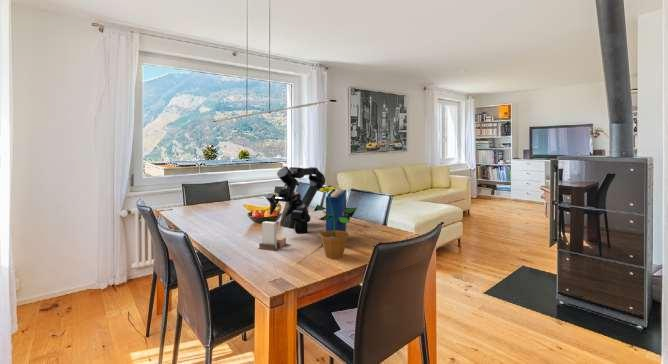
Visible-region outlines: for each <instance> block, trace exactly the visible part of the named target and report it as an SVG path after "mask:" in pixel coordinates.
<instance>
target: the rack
mask: <svg viewBox="0 0 668 364" xmlns="http://www.w3.org/2000/svg"><path fill="white" fill-rule="evenodd" d="M287 245H288V243H286V244H285V245H284V246H282V247H280V242H277V248H276V249H275V245H272V244H264V243H262V242H260V243H259V247H258V248H257V250H262V251H271V252H277V251H278V250H280V249H281V248H283V247H285V246H287Z"/></svg>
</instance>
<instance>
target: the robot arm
mask: <svg viewBox="0 0 668 364" xmlns="http://www.w3.org/2000/svg"><path fill="white" fill-rule="evenodd" d="M276 175H277V177H278V179H280V181H281V182H282V183H283V184H284V186H278V185H277V186H274V193H275V194H274V193H273V194H272V193H267V195H266V198H265V199H266V200H267V201H268V202H269V205H270V206H269V214H270V215H273V213H274V212H275V211H276V208H277V206H278V203H279V202H281V203H286V202H289V207H288V209H287V212H286V216H288V215H289V214H290V213H291V215H292V220H293V221H295V224H294V229H293V230H294V232H295V234H308V233H309V230H308V226H309V225H308V223H309V222H311V216H310V214H309V206H310V205H311V203H312V201H313V199H314V197H315V195H316V194H317V192H318V191H317V190H318V189H320V188H321V187H324V186H325V183H326V177H325V176H324V174H323V173H322V172H321V171H320V170H319V169H318V167H315V166H314V167H312V166H310V167H297V166H295V167H292V166H291V167H288V166H283V167H281V168H280V169H278V171H277V173H276ZM305 176H308V180H309V187H308V189H306V190H307V191H306V192H305V194H304V196H303V198H302V199H300V198H299V196H292V195H294V194H295V191H296V187H297V186H298V187H299V186H300V183H299V180H297V179H302V178H304V177H305ZM276 194H277V195H276ZM277 196H278V197H277Z"/></svg>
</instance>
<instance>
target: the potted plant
mask: <svg viewBox="0 0 668 364" xmlns="http://www.w3.org/2000/svg"><path fill="white" fill-rule="evenodd" d="M337 188H338V187H337V186H335V185H327V186H325V185H324V186H323V187H321V188H320V189H318V190H317V192H321V193H326V194H327V196H328V199H329V195H328V194H329V193H330V192H331V191H333V190H337ZM329 202H330V200H329ZM330 206H331V203H330ZM357 208H358V207H346V209H344V210H342V211H343V212H345V213H346V216H342V217H340V216H339V217H338V219H337V220H338V225H342V224H346V225H347V224H349V223H350V220H351V218H352V217H353V215H354V214H355V212H356V210H357ZM331 209H332V206H331ZM317 211H318V212H319V211H323V212H324V214H325V215H324V216H322V217H320V218H318V220H319V221H324V222H326V220H327V219H329V218H330V217H332V216H333V220H334V230H331V231H326V230H324V231H323V232H320V233H319V235H320V238H321V242H322V246H323V249H324V254H325V257H326V258H327V259H330V260H339V259H343V255H344V253H345V249H346V245H347V242H348V238H349V234H350V233H349V232H347V231H346V232H345V231H338V230H335V223H336V221H337V220H336V221H335V219H334V213H333V209H332V213H333V215H330V214H327V213H326V207H323V206H321V205H320V204H316V206H315V208H314V210H313V212H317ZM341 213H342V212H341ZM340 215H341V214H340Z"/></svg>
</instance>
